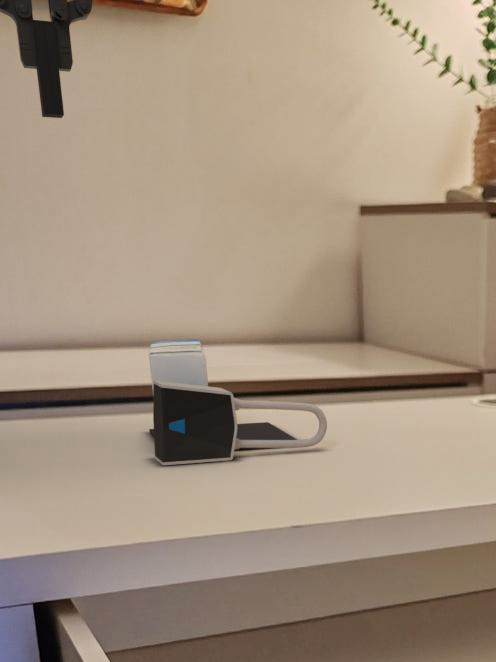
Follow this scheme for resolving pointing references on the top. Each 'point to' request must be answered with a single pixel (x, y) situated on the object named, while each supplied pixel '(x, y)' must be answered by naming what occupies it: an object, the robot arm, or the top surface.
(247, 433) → the mat
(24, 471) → the top surface
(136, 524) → the top surface
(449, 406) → the top surface
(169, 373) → the ink box
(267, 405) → the padlock
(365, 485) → the top surface
